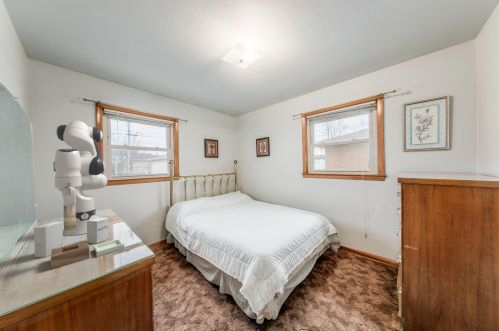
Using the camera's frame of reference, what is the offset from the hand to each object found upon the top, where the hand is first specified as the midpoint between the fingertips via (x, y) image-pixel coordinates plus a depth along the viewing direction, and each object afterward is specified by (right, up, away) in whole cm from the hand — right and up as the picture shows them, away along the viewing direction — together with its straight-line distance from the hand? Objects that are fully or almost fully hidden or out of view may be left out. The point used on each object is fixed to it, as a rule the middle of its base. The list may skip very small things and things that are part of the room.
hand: (69, 212), depth 83 cm
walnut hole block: (+1, -22, 0) cm, 22 cm away
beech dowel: (0, -8, 0) cm, 8 cm away
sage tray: (+12, -22, +9) cm, 26 cm away
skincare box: (-16, -23, +6) cm, 29 cm away
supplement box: (-4, -22, +21) cm, 31 cm away
